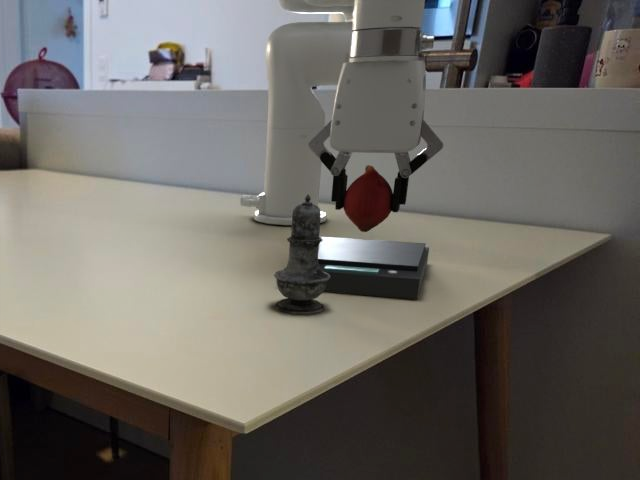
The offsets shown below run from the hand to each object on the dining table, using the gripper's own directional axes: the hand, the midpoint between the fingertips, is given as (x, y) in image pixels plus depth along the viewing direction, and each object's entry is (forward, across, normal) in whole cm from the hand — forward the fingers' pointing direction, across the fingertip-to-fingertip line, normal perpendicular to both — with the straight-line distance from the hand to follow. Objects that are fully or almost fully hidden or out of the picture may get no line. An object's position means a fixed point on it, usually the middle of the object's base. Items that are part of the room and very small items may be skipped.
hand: (367, 207), depth 89 cm
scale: (+8, 0, +1) cm, 8 cm away
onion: (+3, 0, 0) cm, 3 cm away
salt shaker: (+8, +4, +18) cm, 20 cm away
